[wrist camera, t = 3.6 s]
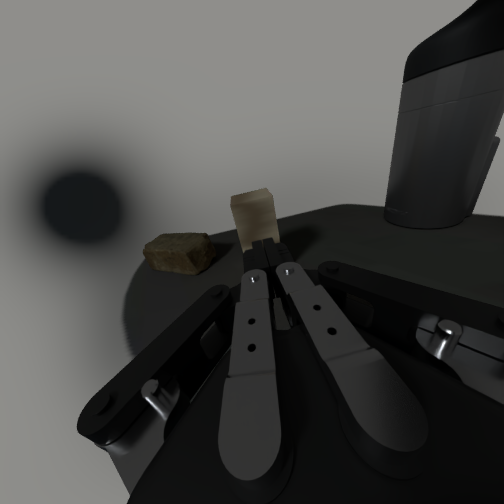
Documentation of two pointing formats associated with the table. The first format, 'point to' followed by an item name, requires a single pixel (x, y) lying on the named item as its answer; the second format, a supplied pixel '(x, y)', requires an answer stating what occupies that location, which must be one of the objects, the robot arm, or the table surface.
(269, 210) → the maple block
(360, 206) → the table surface
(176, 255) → the stone block
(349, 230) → the table surface
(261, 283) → the robot arm
